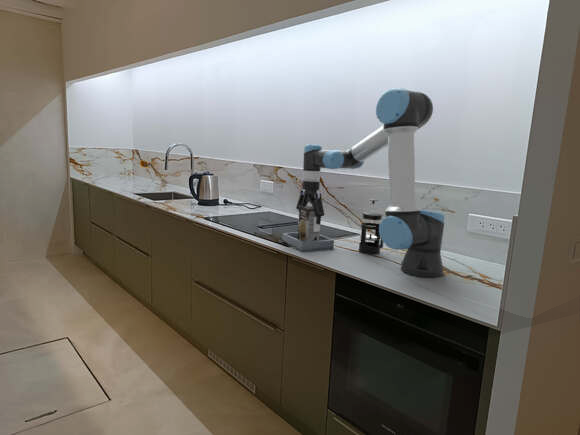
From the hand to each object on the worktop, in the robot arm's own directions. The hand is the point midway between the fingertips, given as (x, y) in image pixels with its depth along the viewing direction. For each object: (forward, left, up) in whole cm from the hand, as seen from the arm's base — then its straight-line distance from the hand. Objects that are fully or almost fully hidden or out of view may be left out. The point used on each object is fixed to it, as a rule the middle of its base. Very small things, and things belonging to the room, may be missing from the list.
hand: (308, 228), depth 181 cm
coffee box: (0, 0, -7) cm, 7 cm away
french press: (-18, -21, -8) cm, 29 cm away
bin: (0, 0, -8) cm, 8 cm away
